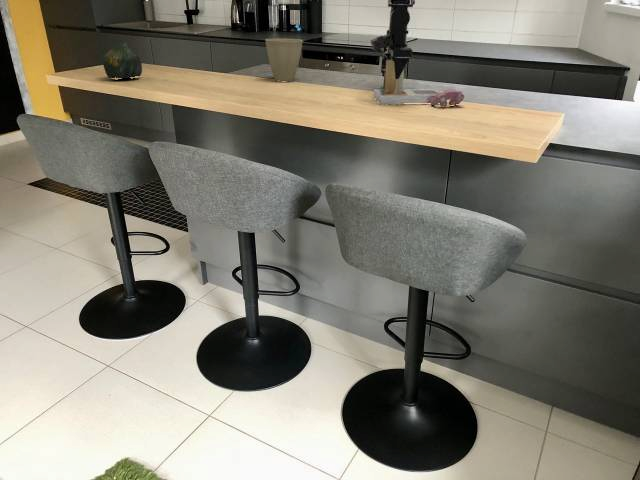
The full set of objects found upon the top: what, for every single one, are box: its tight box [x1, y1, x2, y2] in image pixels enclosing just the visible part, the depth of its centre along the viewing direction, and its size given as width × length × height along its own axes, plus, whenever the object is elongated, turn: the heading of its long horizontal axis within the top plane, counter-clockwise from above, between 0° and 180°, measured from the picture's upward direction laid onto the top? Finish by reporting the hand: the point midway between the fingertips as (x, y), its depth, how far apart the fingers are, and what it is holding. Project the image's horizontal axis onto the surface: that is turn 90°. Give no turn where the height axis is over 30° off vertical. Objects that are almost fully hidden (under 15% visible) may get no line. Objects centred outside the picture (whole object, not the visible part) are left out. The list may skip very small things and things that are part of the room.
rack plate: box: [373, 88, 440, 105], centre depth 174 cm, size 12×22×3 cm, turn 95°
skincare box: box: [384, 59, 405, 94], centre depth 171 cm, size 6×4×12 cm
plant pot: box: [264, 38, 304, 82], centre depth 208 cm, size 15×15×16 cm
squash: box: [102, 41, 143, 79], centre depth 206 cm, size 14×15×15 cm
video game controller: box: [430, 88, 465, 107], centre depth 166 cm, size 10×5×7 cm, turn 106°
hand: (394, 77), depth 171 cm, fingers closed on skincare box, 7 cm apart
